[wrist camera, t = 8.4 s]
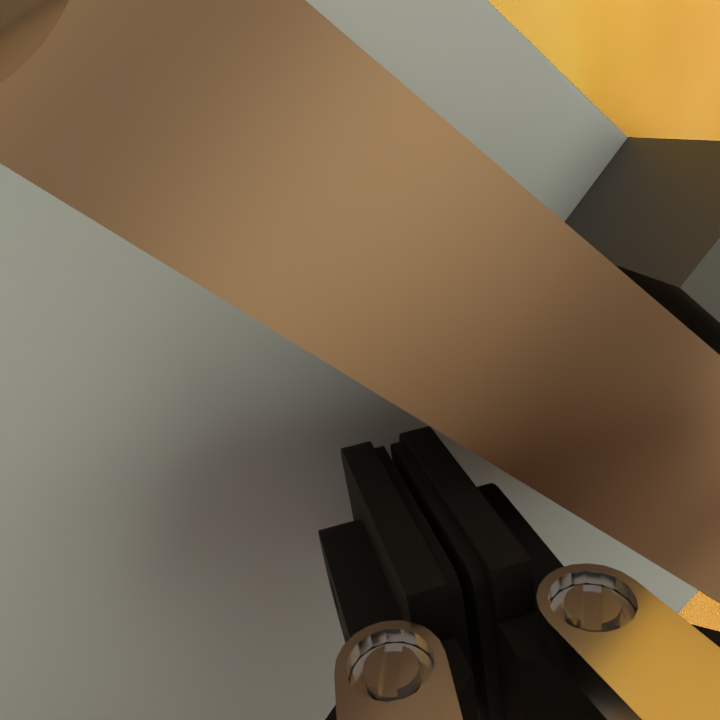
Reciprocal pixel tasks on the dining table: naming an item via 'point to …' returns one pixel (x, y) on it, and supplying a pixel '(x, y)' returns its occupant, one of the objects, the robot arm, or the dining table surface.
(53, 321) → the jig board
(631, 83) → the dining table surface
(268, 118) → the lever
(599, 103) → the dining table surface
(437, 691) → the robot arm
